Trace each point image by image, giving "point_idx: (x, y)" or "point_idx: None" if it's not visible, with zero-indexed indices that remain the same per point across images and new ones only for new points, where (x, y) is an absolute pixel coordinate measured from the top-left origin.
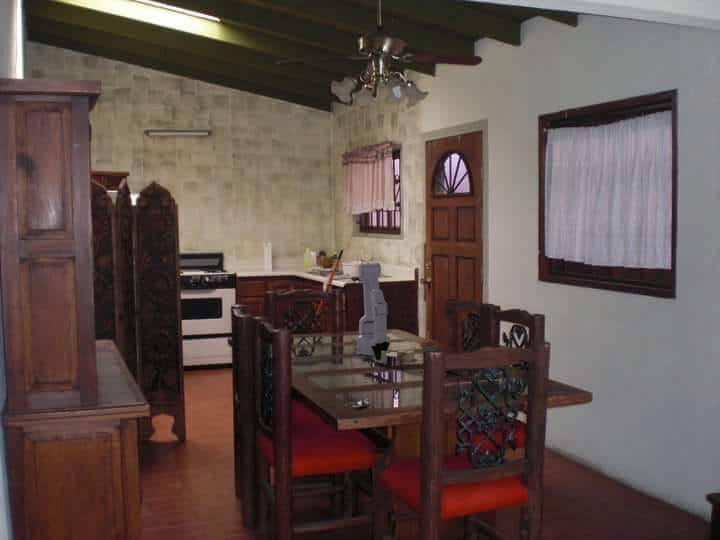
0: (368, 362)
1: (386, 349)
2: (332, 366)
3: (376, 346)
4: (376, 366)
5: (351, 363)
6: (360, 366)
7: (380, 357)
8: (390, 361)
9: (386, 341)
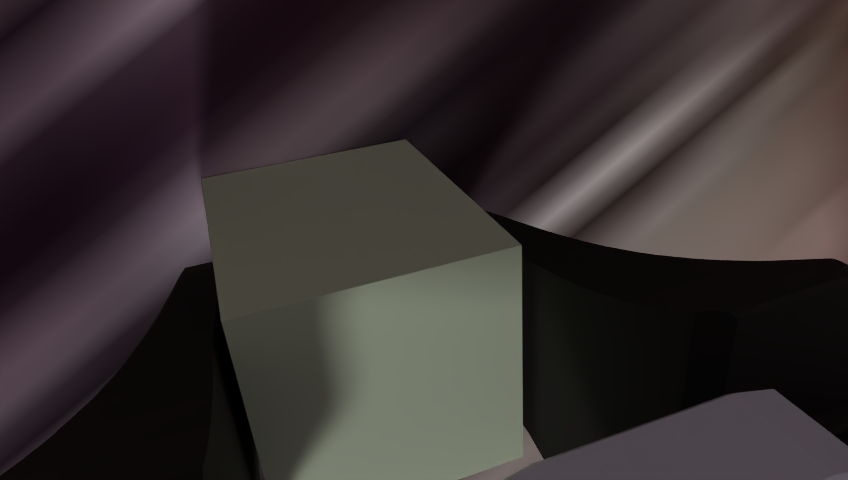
0: None
1: (199, 370)
2: None
3: (841, 409)
4: (697, 32)
5: None
6: (768, 244)
7: None
8: (92, 130)
9: (777, 409)
